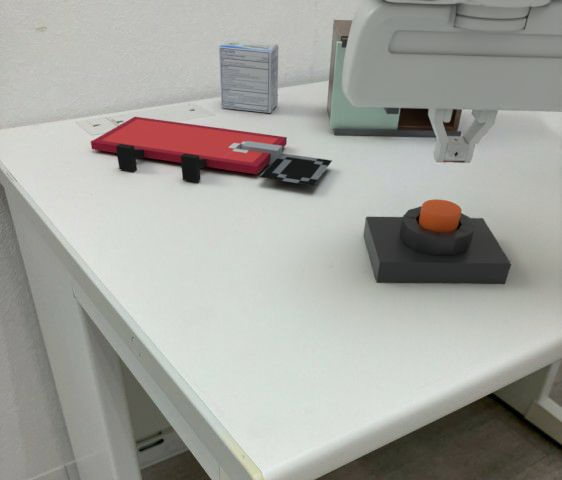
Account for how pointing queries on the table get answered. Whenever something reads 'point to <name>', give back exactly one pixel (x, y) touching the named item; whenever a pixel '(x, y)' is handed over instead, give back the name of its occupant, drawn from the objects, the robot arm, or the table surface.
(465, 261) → the button block
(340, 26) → the cabinet
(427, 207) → the orange button
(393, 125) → the sliding door
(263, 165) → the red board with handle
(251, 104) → the medicine box
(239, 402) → the table surface
